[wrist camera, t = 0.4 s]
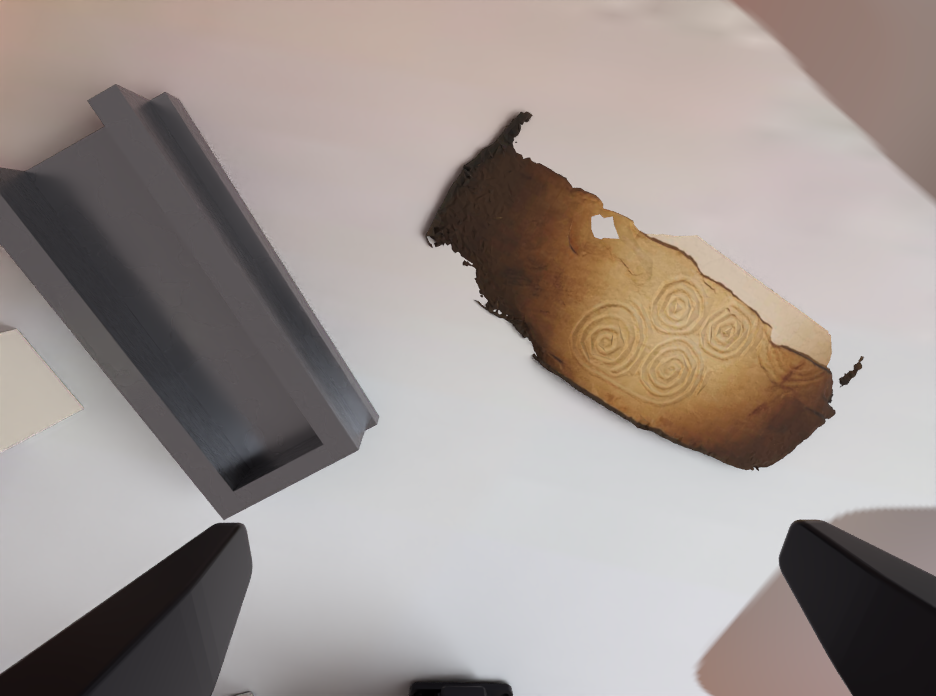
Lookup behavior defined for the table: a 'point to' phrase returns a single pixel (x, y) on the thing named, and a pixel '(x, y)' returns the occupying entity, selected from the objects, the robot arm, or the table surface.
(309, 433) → the grey rectangular tray
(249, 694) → the coffee box
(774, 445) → the parchment
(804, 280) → the table surface
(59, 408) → the cream rectangular block
